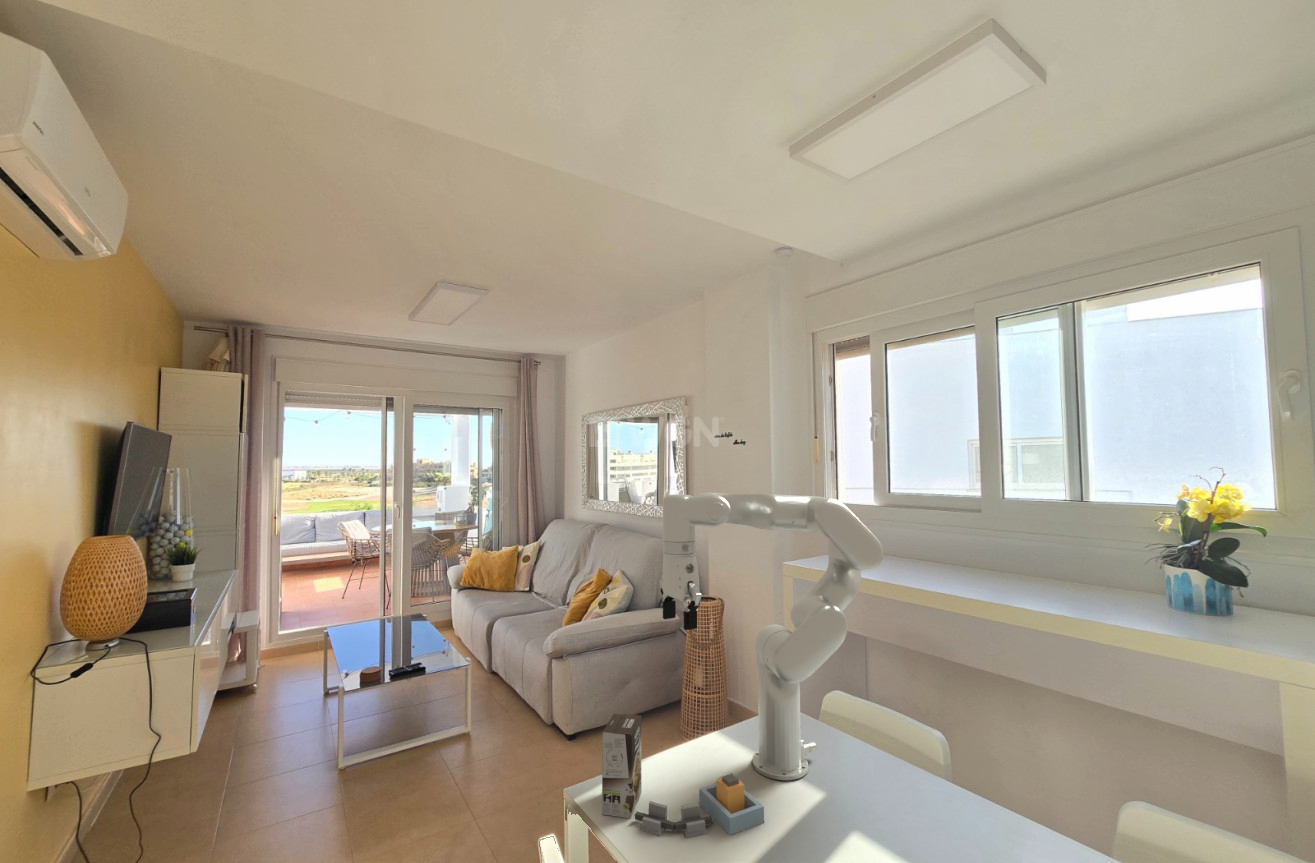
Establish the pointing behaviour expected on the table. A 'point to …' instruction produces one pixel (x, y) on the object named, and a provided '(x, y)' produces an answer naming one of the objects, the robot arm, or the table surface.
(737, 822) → the frame
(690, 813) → the clip
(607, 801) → the coffee box
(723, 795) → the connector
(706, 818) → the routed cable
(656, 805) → the clip
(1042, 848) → the table surface
